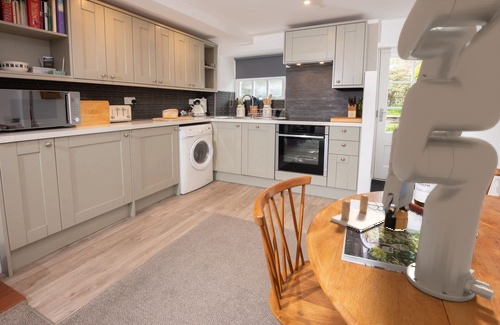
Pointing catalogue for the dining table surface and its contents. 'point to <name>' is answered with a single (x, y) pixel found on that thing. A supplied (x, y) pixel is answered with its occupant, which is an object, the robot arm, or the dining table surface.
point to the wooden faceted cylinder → (401, 219)
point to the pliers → (416, 208)
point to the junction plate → (358, 215)
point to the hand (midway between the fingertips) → (395, 225)
